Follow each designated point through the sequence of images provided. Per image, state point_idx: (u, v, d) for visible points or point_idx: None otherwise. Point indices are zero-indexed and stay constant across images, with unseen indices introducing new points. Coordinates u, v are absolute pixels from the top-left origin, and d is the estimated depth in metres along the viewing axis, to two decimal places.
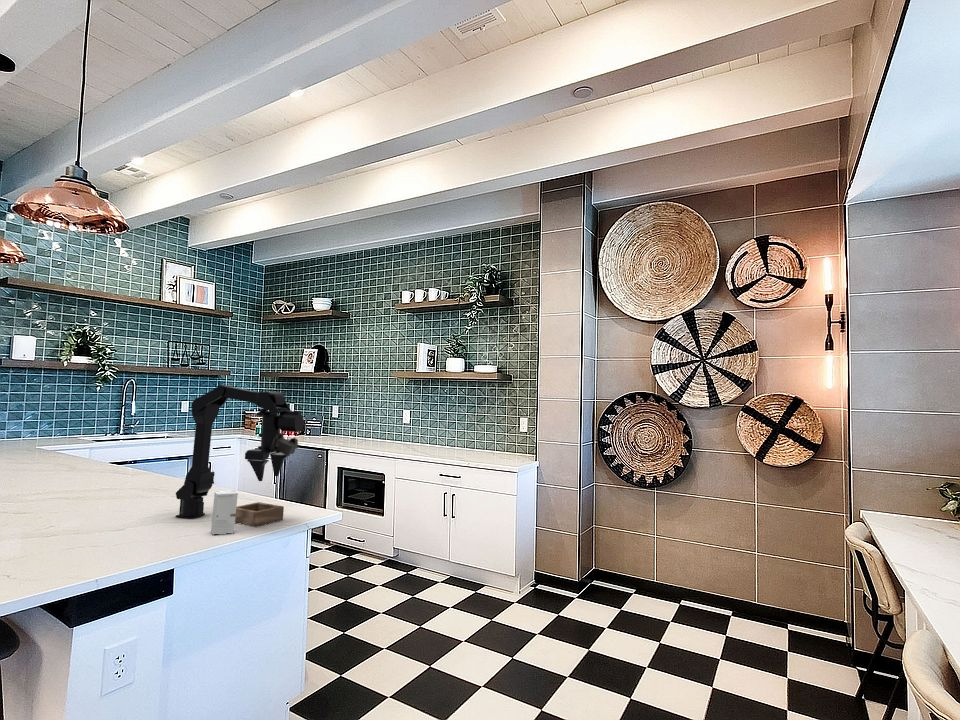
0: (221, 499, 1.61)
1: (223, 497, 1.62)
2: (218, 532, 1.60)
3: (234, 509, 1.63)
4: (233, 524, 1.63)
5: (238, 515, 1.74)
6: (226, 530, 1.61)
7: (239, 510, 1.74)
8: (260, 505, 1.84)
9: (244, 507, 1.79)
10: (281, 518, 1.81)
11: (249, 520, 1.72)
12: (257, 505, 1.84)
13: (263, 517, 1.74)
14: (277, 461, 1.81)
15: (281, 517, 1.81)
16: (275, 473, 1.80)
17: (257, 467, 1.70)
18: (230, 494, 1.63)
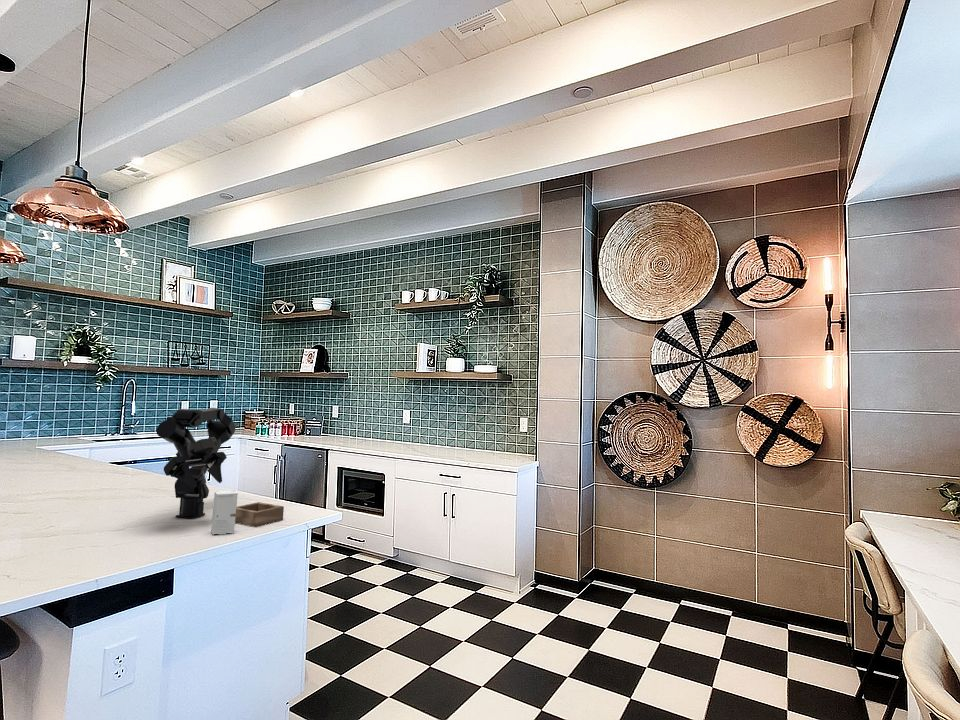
0: (221, 499, 1.61)
1: (223, 497, 1.62)
2: (218, 532, 1.60)
3: (234, 509, 1.63)
4: (233, 524, 1.63)
5: (238, 515, 1.74)
6: (226, 530, 1.61)
7: (239, 510, 1.74)
8: (260, 505, 1.84)
9: (244, 507, 1.79)
10: (281, 518, 1.81)
11: (249, 520, 1.72)
12: (257, 505, 1.84)
13: (263, 517, 1.74)
14: (214, 470, 1.73)
15: (281, 517, 1.81)
16: (218, 480, 1.72)
17: (184, 476, 1.63)
18: (230, 494, 1.63)
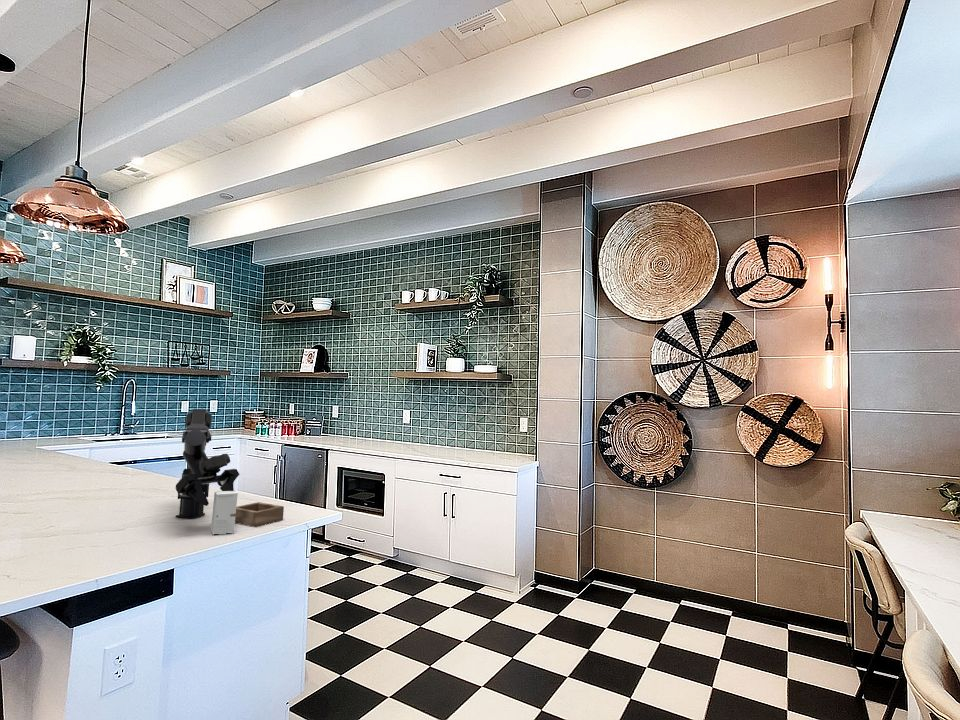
0: (221, 499, 1.61)
1: (223, 497, 1.62)
2: (218, 532, 1.60)
3: (234, 509, 1.63)
4: (233, 524, 1.63)
5: (238, 515, 1.74)
6: (226, 530, 1.61)
7: (239, 510, 1.74)
8: (260, 505, 1.84)
9: (244, 507, 1.79)
10: (281, 518, 1.81)
11: (249, 520, 1.72)
12: (257, 505, 1.84)
13: (263, 517, 1.74)
14: (227, 487, 1.70)
15: (281, 517, 1.81)
16: None
17: (196, 494, 1.60)
18: (230, 494, 1.63)
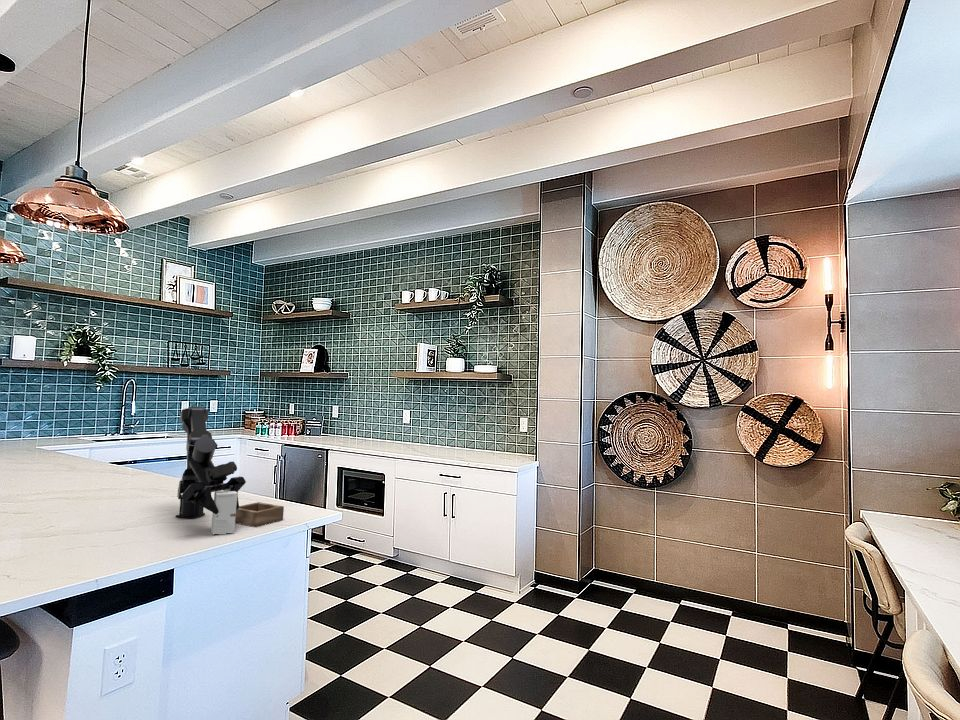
0: (221, 499, 1.61)
1: (223, 497, 1.62)
2: (218, 532, 1.60)
3: (234, 509, 1.63)
4: (233, 524, 1.63)
5: (238, 515, 1.74)
6: (226, 530, 1.61)
7: (239, 510, 1.74)
8: (260, 505, 1.84)
9: (244, 507, 1.79)
10: (281, 518, 1.81)
11: (249, 520, 1.72)
12: (257, 505, 1.84)
13: (263, 517, 1.74)
14: None
15: (281, 517, 1.81)
16: None
17: (206, 502, 1.60)
18: (230, 494, 1.63)
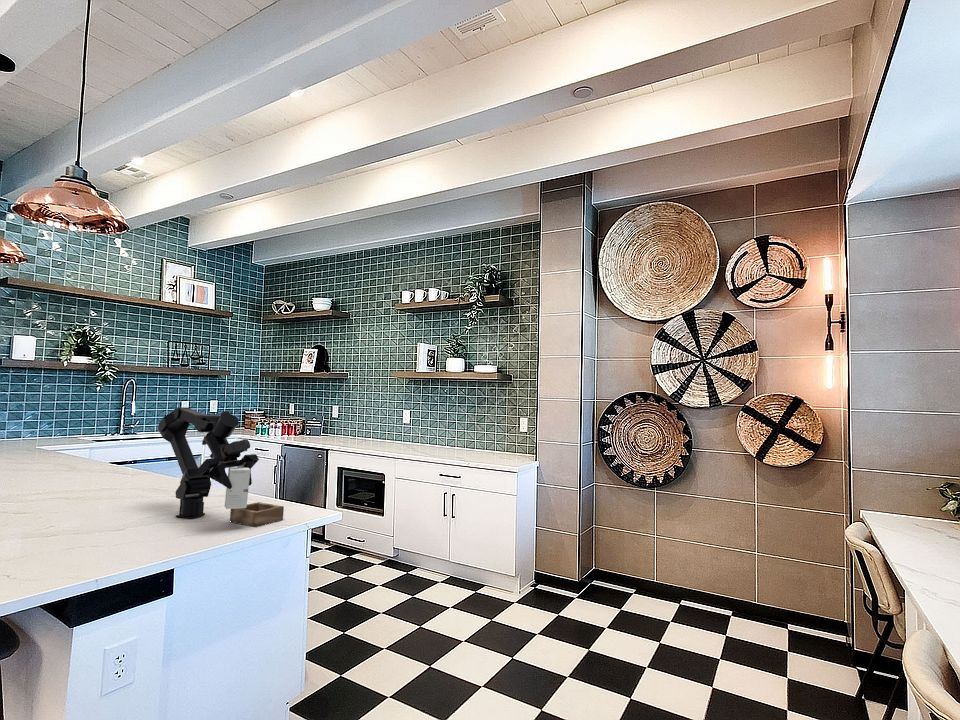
0: (235, 474, 1.67)
1: (237, 473, 1.67)
2: (231, 506, 1.66)
3: (247, 485, 1.69)
4: (246, 499, 1.68)
5: (238, 515, 1.74)
6: (239, 505, 1.67)
7: (239, 510, 1.74)
8: (260, 505, 1.84)
9: None
10: (281, 518, 1.81)
11: (249, 520, 1.72)
12: (257, 505, 1.84)
13: (263, 517, 1.74)
14: None
15: (281, 517, 1.81)
16: None
17: (220, 477, 1.66)
18: (243, 470, 1.68)
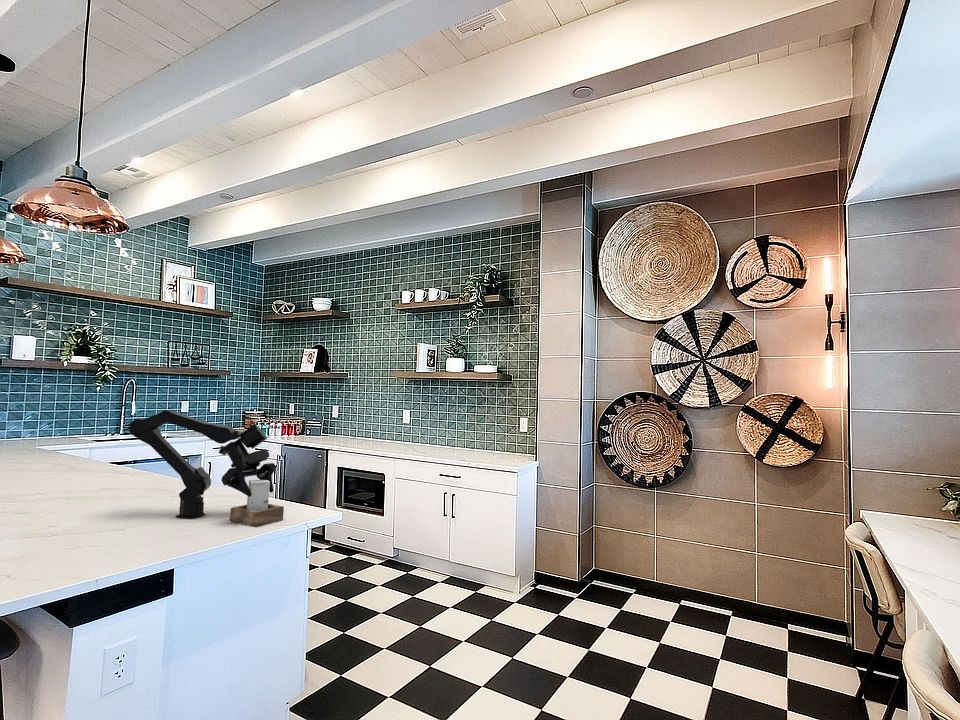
0: (256, 487, 1.77)
1: (257, 485, 1.77)
2: None
3: (267, 496, 1.79)
4: None
5: (238, 515, 1.74)
6: None
7: (239, 510, 1.74)
8: None
9: (244, 507, 1.79)
10: (281, 518, 1.81)
11: (249, 520, 1.72)
12: None
13: (263, 517, 1.74)
14: None
15: (281, 517, 1.81)
16: (270, 490, 1.83)
17: (240, 486, 1.75)
18: (263, 482, 1.78)
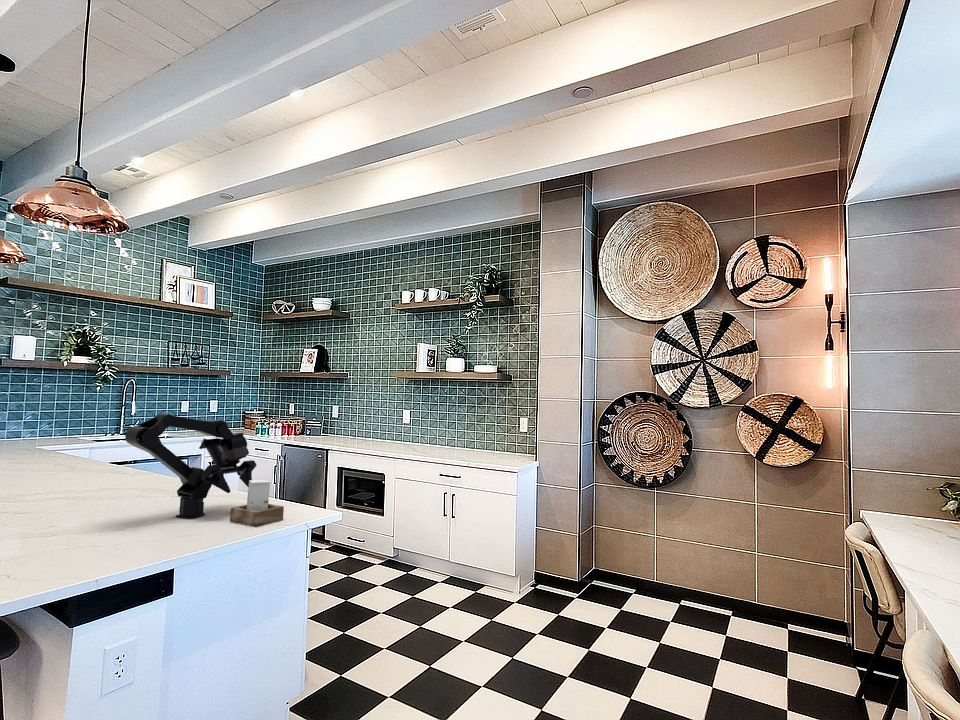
0: (256, 487, 1.77)
1: (257, 485, 1.77)
2: None
3: (267, 496, 1.79)
4: None
5: (238, 515, 1.74)
6: None
7: (239, 510, 1.74)
8: None
9: (244, 507, 1.79)
10: (281, 518, 1.81)
11: (249, 520, 1.72)
12: None
13: (263, 517, 1.74)
14: (245, 477, 1.88)
15: (281, 517, 1.81)
16: None
17: (219, 483, 1.79)
18: (263, 482, 1.78)
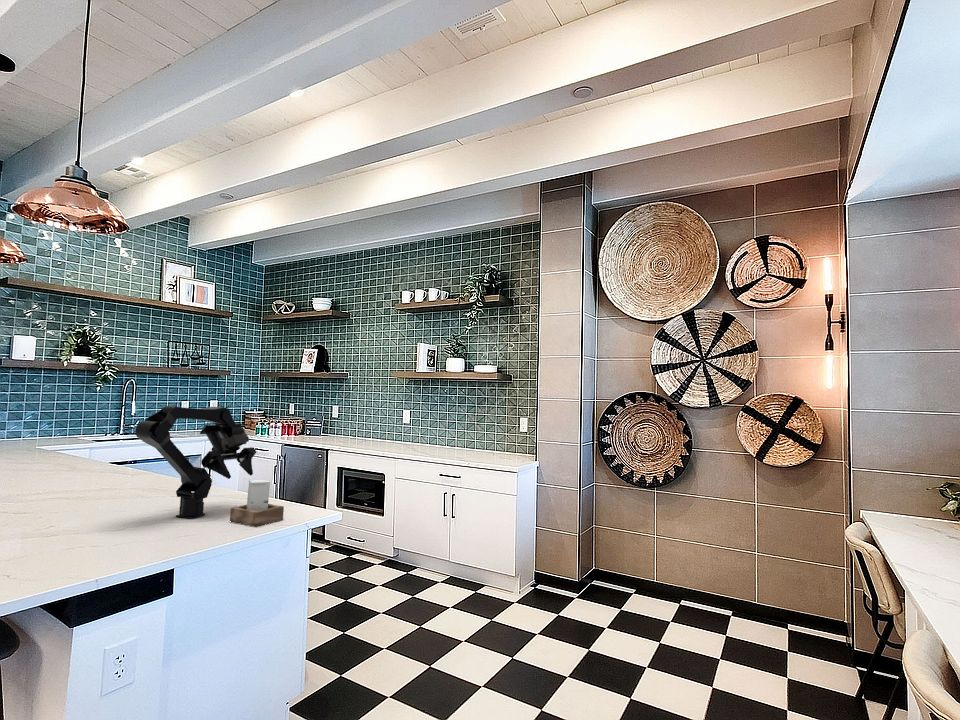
0: (256, 487, 1.77)
1: (257, 485, 1.77)
2: None
3: (267, 496, 1.79)
4: None
5: (238, 515, 1.74)
6: None
7: (239, 510, 1.74)
8: None
9: (244, 507, 1.79)
10: (281, 518, 1.81)
11: (249, 520, 1.72)
12: None
13: (263, 517, 1.74)
14: (245, 463, 1.90)
15: (281, 517, 1.81)
16: (249, 473, 1.88)
17: (219, 468, 1.80)
18: (263, 482, 1.78)
